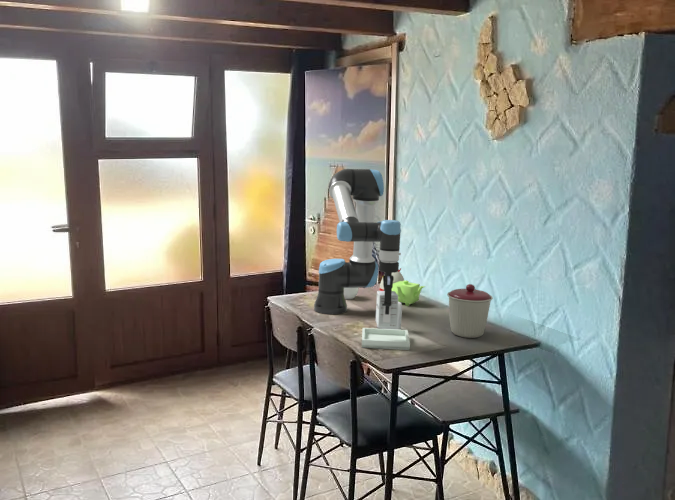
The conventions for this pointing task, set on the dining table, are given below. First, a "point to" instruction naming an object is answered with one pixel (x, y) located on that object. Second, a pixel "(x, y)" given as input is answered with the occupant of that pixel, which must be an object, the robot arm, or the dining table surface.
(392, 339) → the tray
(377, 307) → the supplement box
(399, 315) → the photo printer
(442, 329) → the dining table surface
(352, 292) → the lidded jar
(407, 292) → the kettle
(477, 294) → the canister
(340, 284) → the robot arm
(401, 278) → the kitchen timer
